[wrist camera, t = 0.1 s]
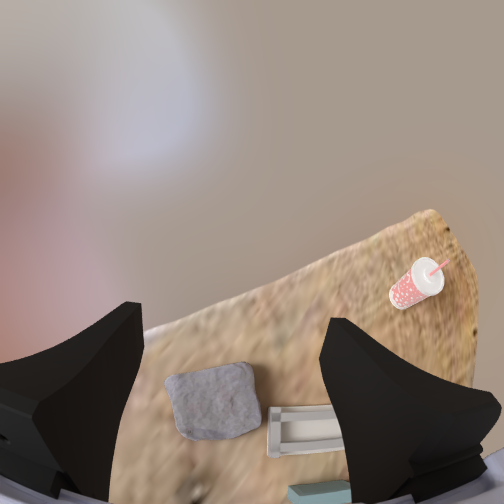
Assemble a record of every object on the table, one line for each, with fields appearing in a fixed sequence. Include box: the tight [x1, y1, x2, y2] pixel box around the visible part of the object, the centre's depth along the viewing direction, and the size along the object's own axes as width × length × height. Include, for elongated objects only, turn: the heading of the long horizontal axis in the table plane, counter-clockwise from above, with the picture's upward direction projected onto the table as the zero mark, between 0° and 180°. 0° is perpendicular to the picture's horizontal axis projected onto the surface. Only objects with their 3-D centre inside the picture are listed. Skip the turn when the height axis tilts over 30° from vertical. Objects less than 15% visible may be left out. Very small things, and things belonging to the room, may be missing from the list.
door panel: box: [288, 480, 351, 504], centre depth 31 cm, size 2×8×6 cm, turn 89°
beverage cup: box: [389, 257, 450, 309], centre depth 43 cm, size 6×6×14 cm
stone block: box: [164, 362, 262, 441], centre depth 37 cm, size 12×5×10 cm
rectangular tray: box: [267, 405, 345, 458], centre depth 37 cm, size 7×15×3 cm, turn 89°
